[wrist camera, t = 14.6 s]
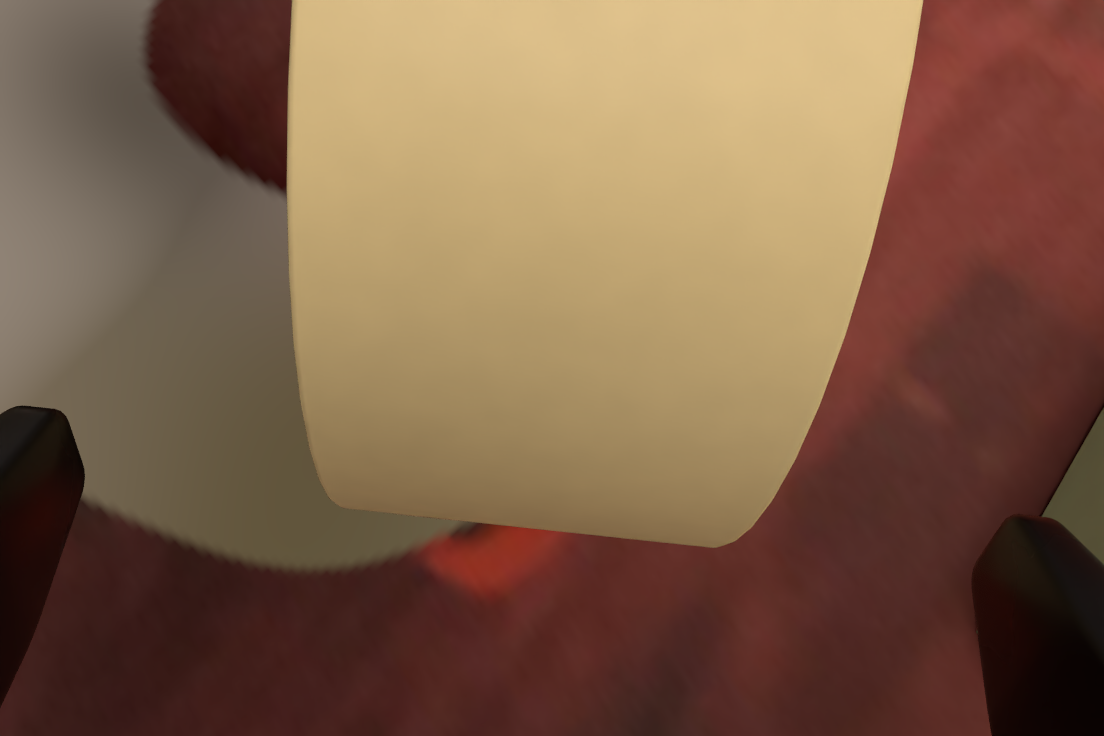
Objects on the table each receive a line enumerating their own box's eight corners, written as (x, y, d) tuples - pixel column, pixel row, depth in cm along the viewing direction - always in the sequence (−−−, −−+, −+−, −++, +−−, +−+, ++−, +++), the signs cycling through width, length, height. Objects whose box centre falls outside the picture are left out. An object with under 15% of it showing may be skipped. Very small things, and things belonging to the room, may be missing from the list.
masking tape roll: (648, 510, 17) (888, 642, 6) (396, 483, 17) (192, 570, 6) (706, -64, 18) (1008, -832, 7) (466, -96, 18) (399, -931, 7)
